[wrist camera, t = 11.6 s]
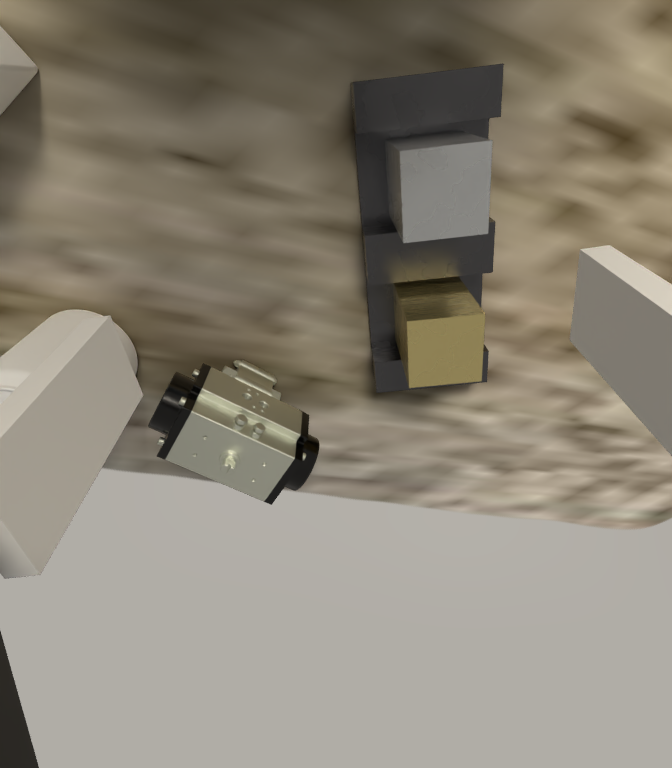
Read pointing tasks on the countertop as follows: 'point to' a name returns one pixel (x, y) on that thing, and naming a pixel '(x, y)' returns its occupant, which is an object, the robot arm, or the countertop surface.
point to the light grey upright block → (439, 185)
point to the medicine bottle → (13, 70)
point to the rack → (380, 238)
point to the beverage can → (47, 348)
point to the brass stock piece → (438, 332)
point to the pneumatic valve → (235, 430)
